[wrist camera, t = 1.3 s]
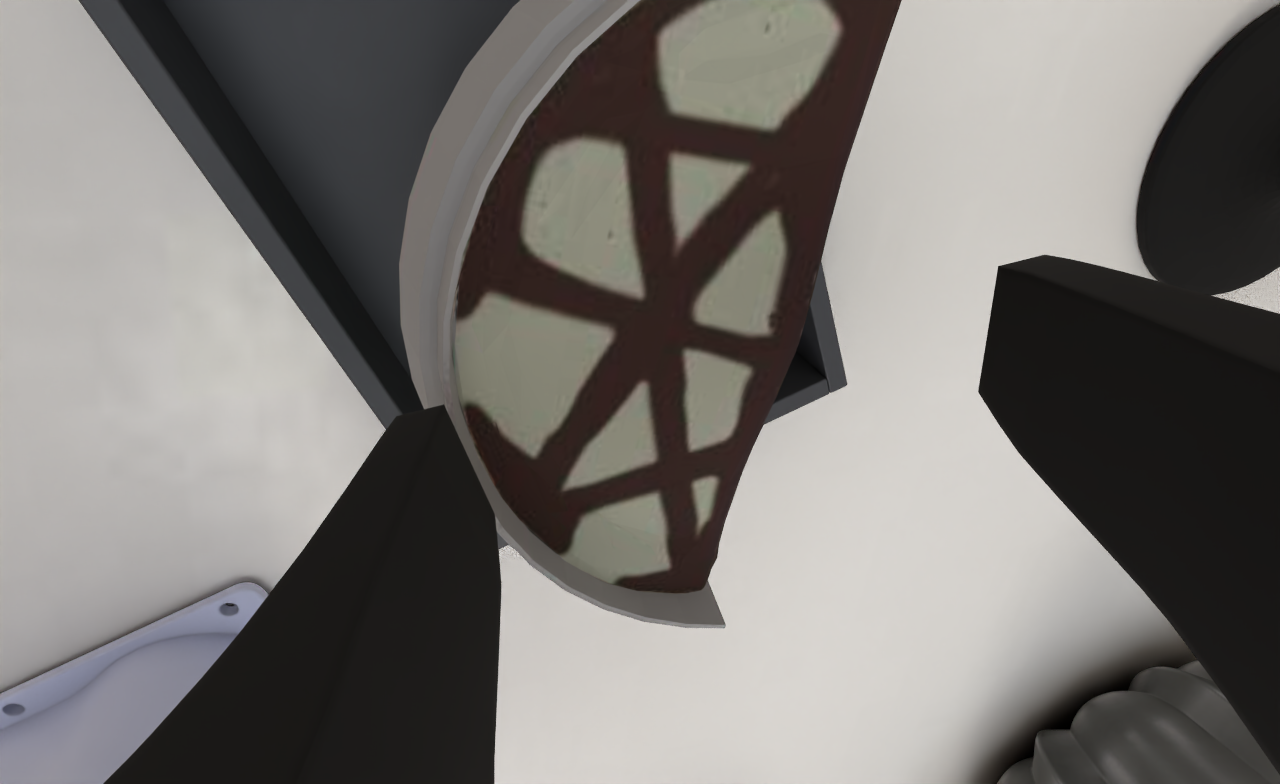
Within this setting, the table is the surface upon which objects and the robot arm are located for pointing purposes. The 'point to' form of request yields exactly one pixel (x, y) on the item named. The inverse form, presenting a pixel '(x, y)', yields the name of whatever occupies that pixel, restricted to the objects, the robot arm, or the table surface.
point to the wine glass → (1219, 172)
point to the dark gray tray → (341, 153)
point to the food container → (629, 268)
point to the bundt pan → (1150, 738)
